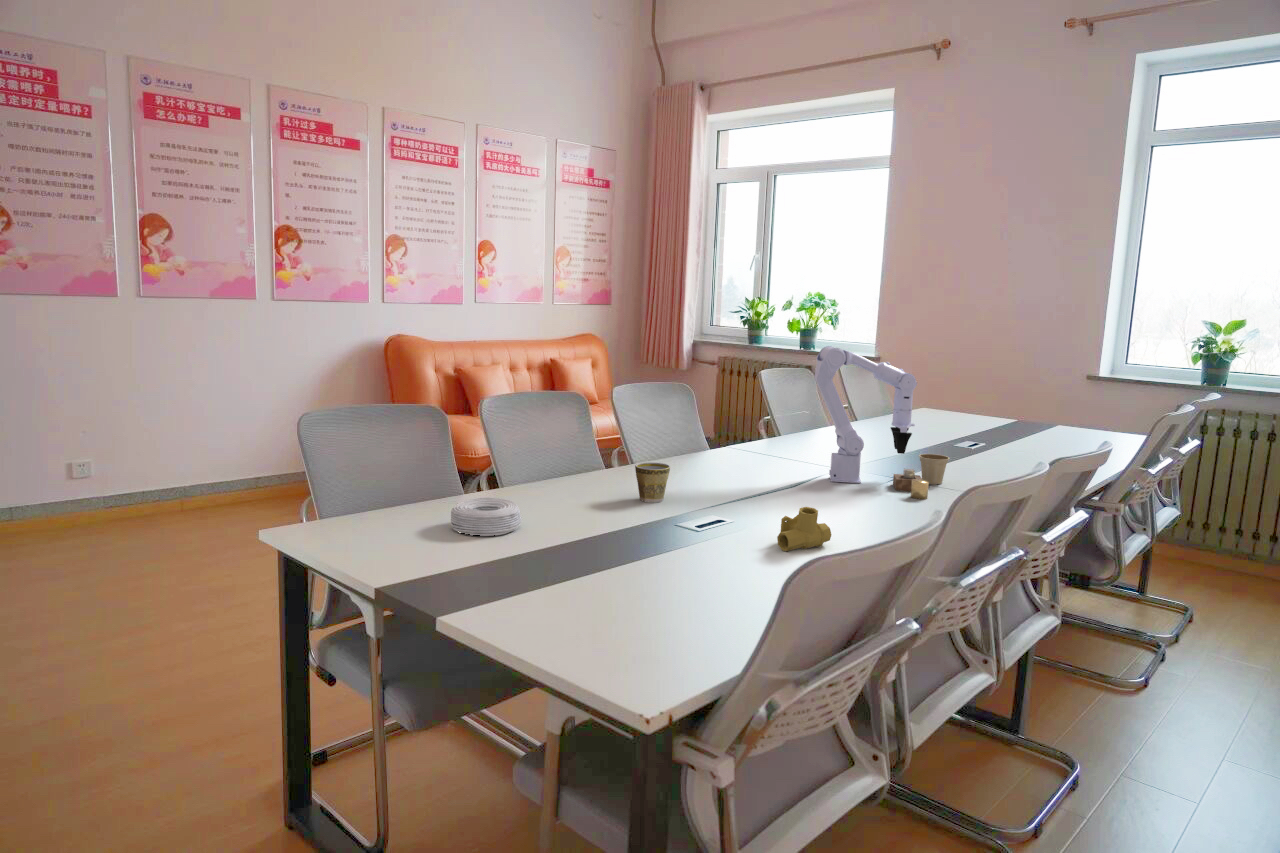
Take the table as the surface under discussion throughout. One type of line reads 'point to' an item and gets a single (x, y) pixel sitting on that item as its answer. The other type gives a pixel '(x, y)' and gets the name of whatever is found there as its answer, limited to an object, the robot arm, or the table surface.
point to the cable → (485, 516)
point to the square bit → (908, 473)
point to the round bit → (919, 489)
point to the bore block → (903, 482)
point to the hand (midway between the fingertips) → (899, 451)
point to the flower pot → (933, 467)
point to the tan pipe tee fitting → (803, 531)
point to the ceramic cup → (652, 480)
